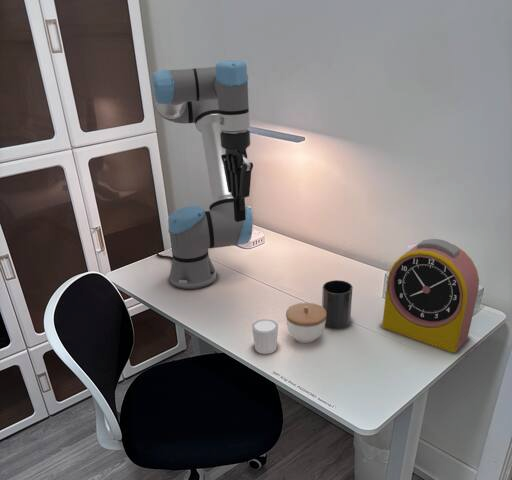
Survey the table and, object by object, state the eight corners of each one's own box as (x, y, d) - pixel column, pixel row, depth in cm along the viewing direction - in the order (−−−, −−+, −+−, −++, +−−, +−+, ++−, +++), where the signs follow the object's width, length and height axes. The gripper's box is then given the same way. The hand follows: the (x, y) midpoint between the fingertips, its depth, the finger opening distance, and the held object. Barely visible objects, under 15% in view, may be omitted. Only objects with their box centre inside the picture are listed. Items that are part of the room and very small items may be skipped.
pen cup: (316, 319, 150) (317, 285, 144) (338, 311, 153) (339, 277, 147) (333, 332, 144) (335, 297, 138) (355, 323, 148) (358, 288, 142)
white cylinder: (283, 349, 138) (283, 326, 135) (262, 358, 135) (261, 335, 131) (268, 337, 143) (268, 315, 139) (247, 346, 140) (246, 324, 136)
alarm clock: (380, 327, 145) (390, 238, 131) (396, 313, 151) (407, 226, 136) (454, 353, 134) (474, 258, 119) (468, 337, 140) (489, 245, 125)
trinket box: (320, 350, 137) (322, 320, 132) (281, 344, 140) (281, 314, 135) (329, 329, 146) (330, 299, 140) (291, 324, 149) (291, 295, 143)
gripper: (209, 128, 135) (217, 216, 148) (234, 137, 126) (239, 230, 139) (235, 124, 138) (240, 210, 151) (261, 132, 129) (264, 224, 142)
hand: (240, 220), depth 145 cm, fingers closed
